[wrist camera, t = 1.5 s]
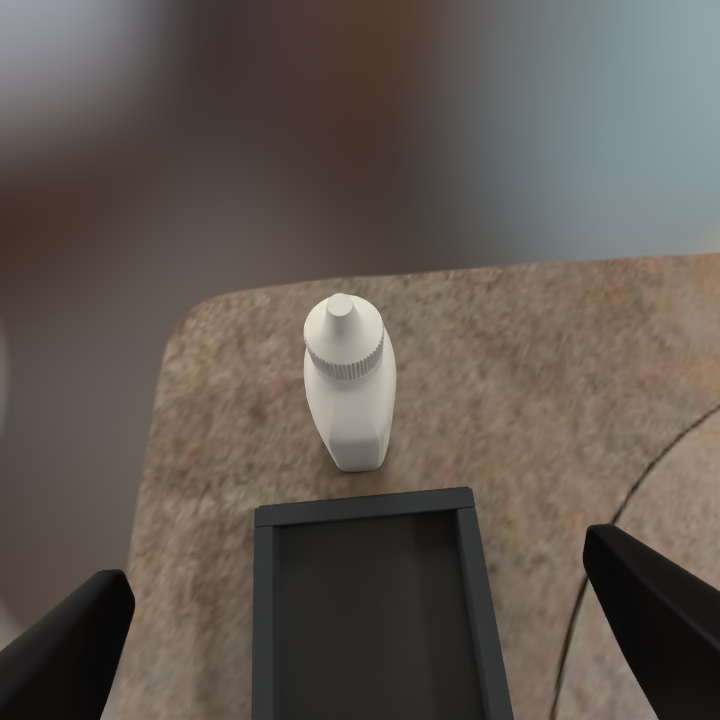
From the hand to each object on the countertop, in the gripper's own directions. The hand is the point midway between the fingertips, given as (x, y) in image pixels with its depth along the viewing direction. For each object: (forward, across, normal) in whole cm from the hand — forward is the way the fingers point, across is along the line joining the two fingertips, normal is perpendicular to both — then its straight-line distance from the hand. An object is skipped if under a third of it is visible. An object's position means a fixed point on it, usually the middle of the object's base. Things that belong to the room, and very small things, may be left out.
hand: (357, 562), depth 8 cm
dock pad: (+7, 0, +11) cm, 13 cm away
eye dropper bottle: (+14, 0, +5) cm, 14 cm away
